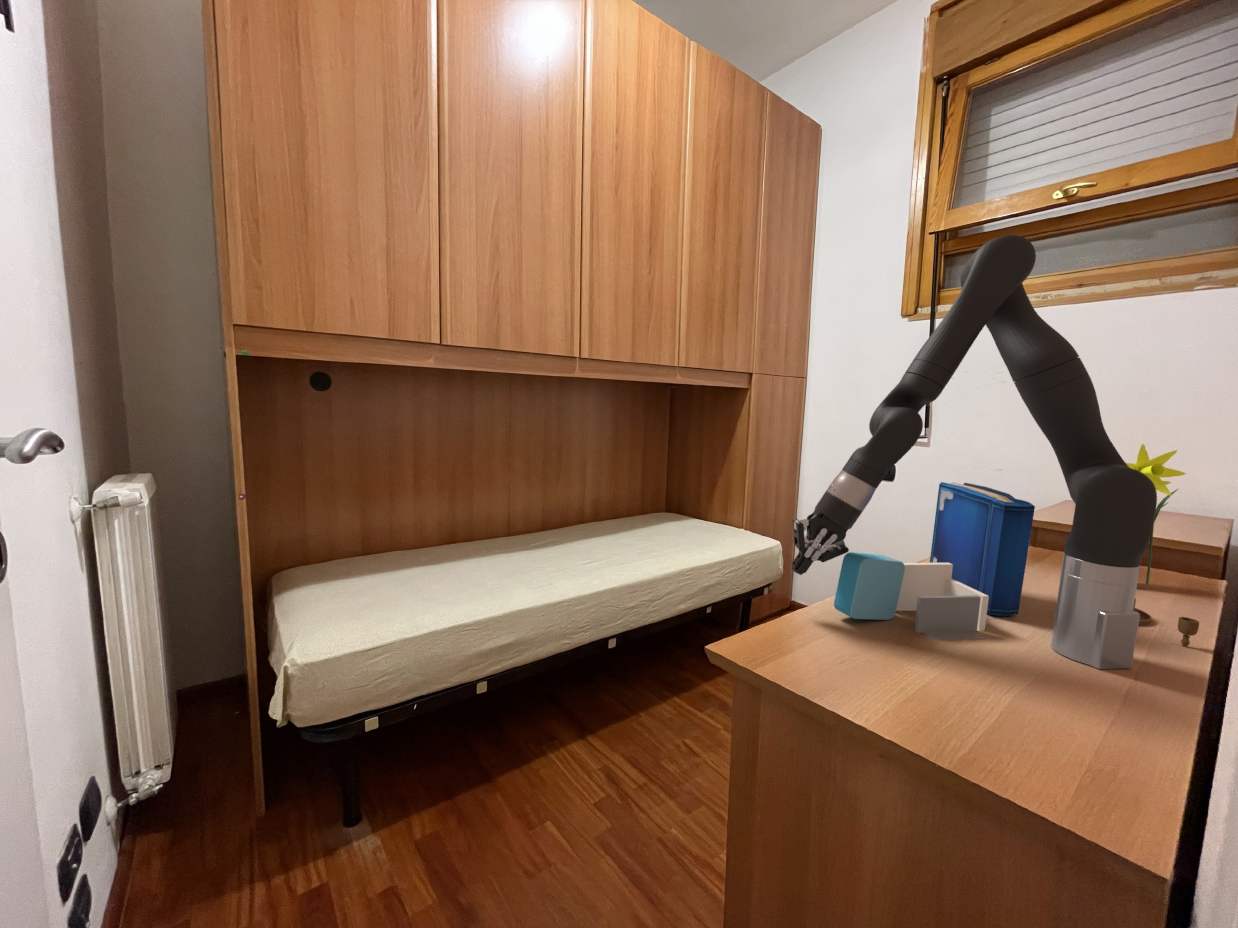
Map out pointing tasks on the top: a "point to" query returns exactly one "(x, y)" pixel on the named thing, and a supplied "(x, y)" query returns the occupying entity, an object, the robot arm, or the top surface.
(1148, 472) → the daffodil flowers
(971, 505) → the book
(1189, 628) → the place setting
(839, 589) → the data package
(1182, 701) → the top surface
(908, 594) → the shelf nook
